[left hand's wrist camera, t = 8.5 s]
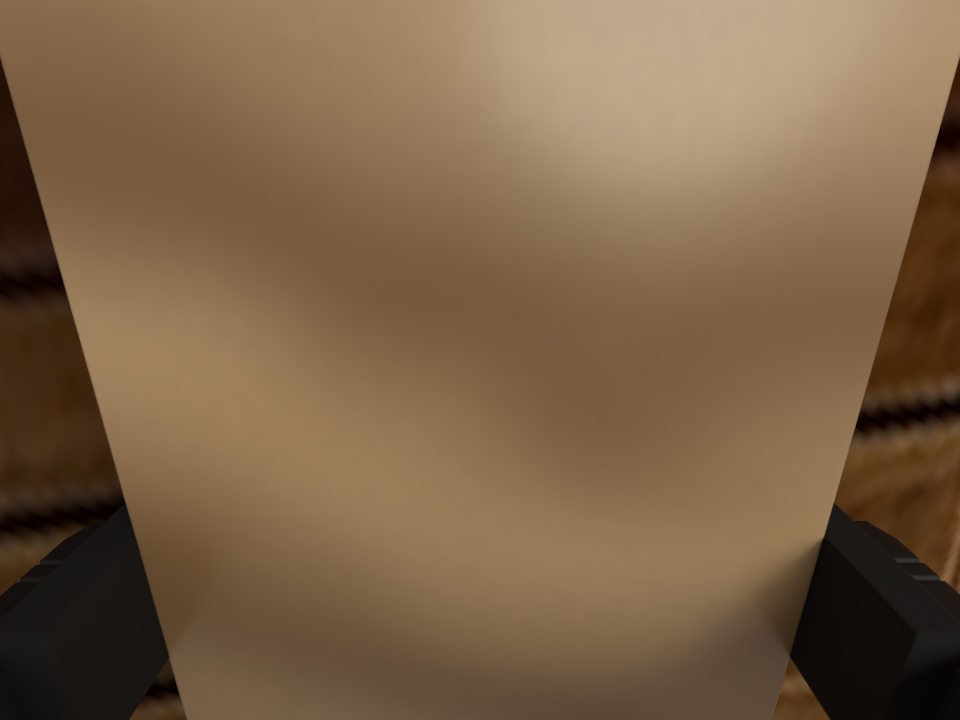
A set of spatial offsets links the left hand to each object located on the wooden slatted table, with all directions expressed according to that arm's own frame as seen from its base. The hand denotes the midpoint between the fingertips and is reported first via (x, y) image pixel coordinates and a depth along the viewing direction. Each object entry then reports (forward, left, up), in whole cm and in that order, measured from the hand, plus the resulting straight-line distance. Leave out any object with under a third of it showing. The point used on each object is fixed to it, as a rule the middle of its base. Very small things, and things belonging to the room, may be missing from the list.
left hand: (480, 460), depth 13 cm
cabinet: (+1, +6, -4) cm, 7 cm away
